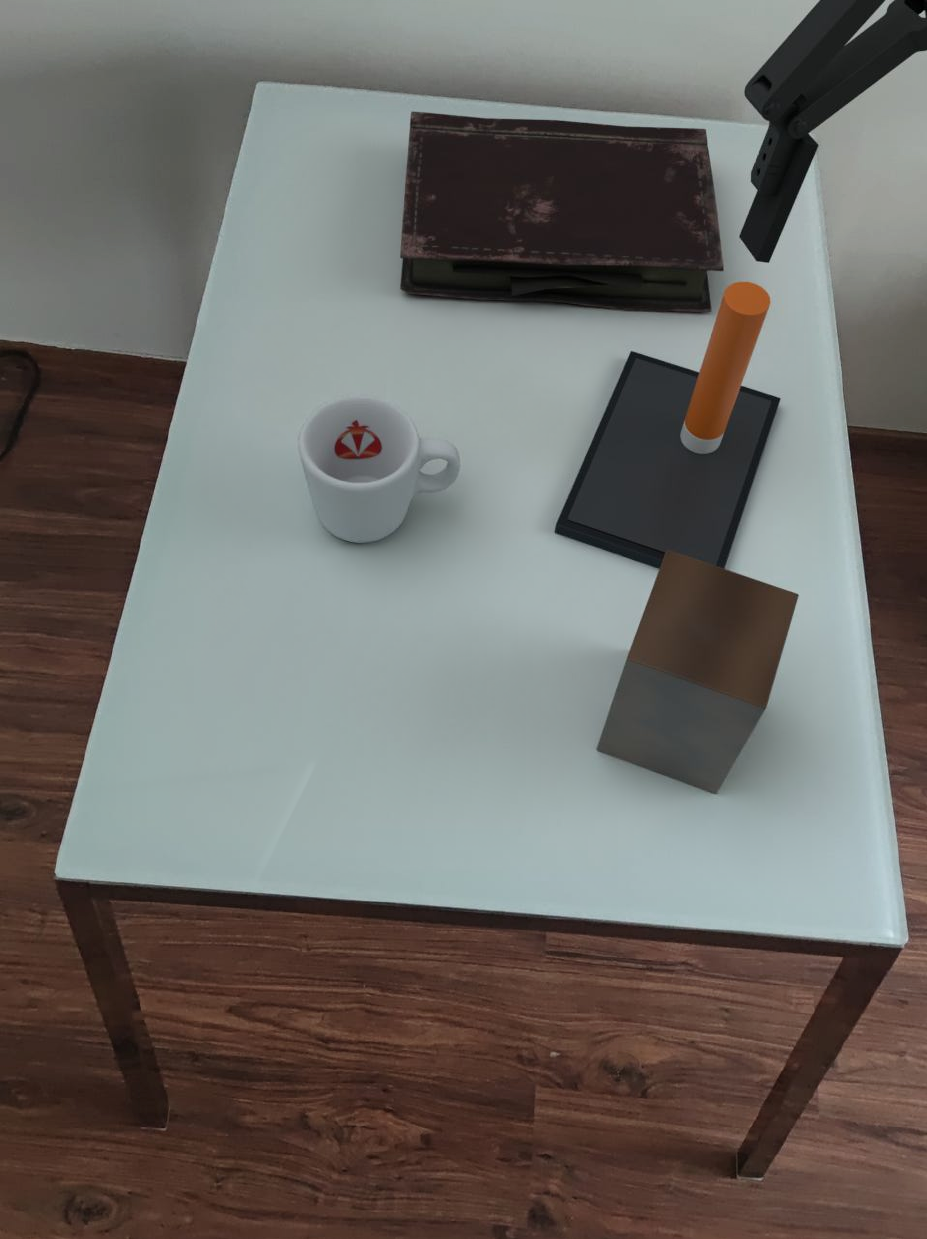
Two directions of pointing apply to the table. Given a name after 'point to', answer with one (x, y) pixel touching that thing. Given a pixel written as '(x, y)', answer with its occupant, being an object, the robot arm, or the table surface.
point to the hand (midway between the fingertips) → (861, 263)
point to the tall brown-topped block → (698, 671)
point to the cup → (368, 465)
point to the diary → (559, 213)
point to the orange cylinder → (724, 365)
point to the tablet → (665, 470)
